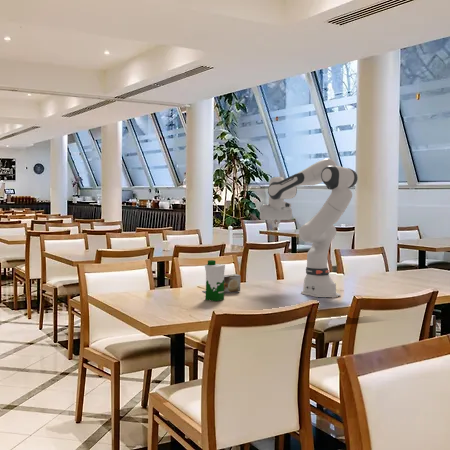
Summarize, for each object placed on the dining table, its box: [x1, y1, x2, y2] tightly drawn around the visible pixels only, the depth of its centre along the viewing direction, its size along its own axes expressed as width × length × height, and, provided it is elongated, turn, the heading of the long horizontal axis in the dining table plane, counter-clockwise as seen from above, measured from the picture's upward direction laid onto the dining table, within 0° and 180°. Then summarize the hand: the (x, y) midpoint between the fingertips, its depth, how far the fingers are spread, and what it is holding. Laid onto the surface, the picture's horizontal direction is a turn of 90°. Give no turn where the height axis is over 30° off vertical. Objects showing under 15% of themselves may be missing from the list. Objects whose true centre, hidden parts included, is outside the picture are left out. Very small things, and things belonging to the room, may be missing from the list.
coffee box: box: [224, 273, 241, 294], centre depth 320 cm, size 9×6×16 cm
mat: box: [201, 290, 240, 295], centre depth 321 cm, size 10×18×1 cm, turn 113°
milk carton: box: [204, 259, 226, 302], centre depth 298 cm, size 9×9×20 cm
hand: (275, 227), depth 347 cm, fingers closed
